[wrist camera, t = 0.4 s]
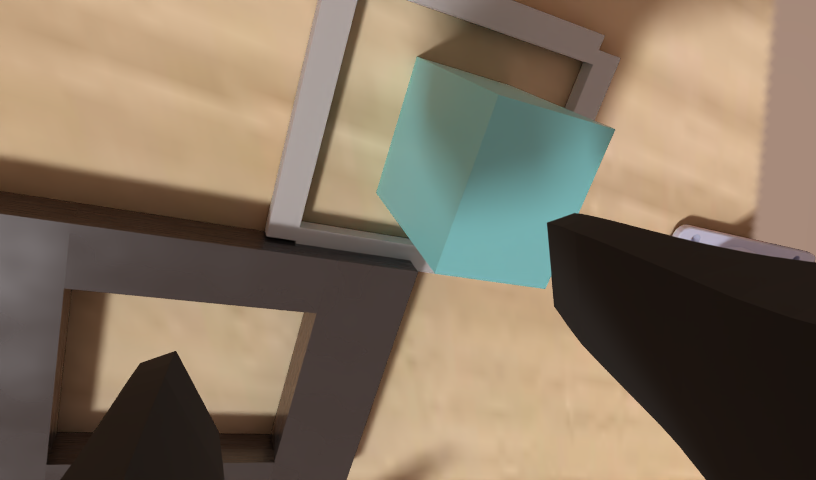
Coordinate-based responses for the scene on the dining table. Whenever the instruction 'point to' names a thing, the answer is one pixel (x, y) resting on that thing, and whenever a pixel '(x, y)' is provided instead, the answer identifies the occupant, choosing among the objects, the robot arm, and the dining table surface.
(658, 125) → the dining table surface
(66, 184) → the dining table surface
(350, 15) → the open picture frame
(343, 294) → the port block
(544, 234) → the plug
